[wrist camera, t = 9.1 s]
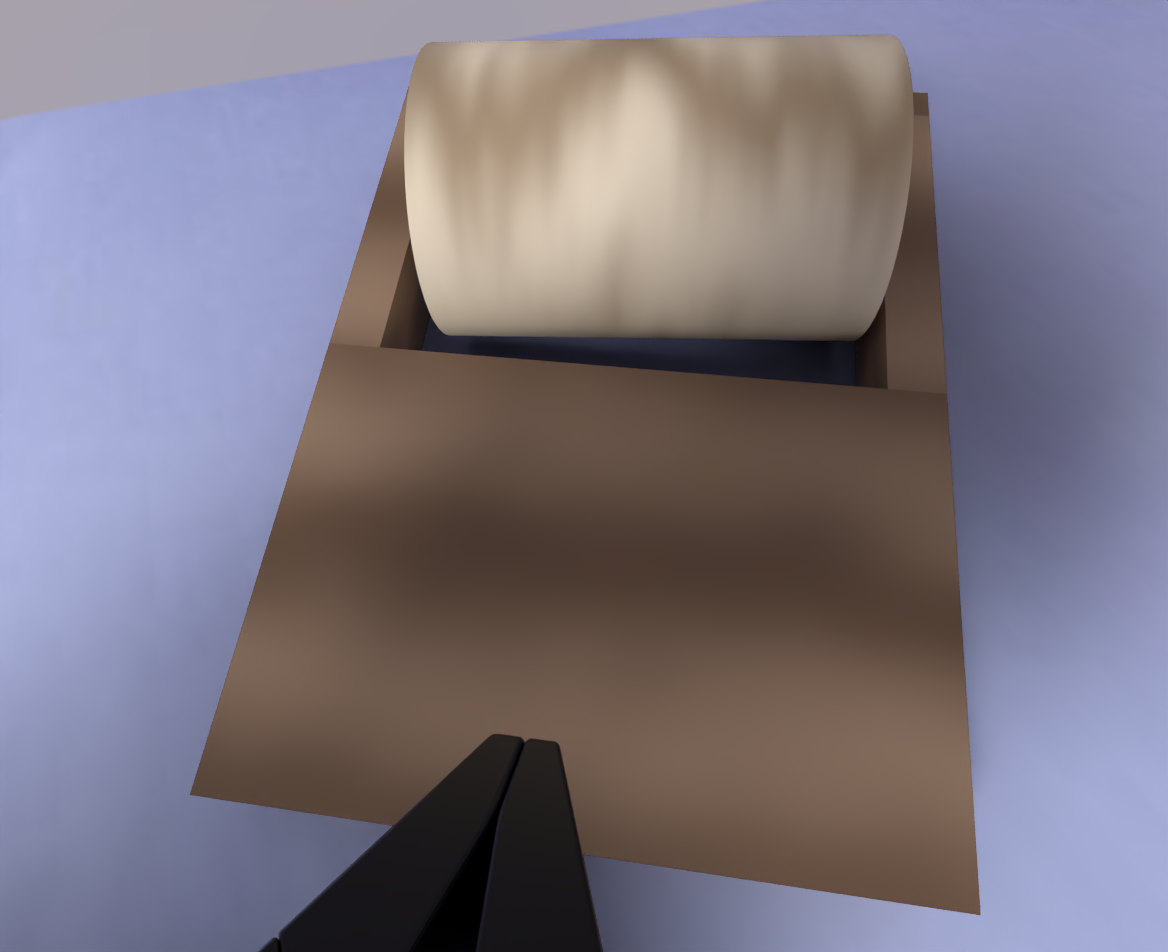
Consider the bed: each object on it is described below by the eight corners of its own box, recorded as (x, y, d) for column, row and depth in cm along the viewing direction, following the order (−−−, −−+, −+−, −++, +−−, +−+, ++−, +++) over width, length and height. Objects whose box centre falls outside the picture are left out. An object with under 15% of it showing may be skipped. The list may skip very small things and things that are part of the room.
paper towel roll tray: (926, 896, 18) (980, 915, 15) (252, 794, 19) (189, 794, 17) (896, 166, 26) (927, 93, 24) (434, 142, 28) (413, 71, 26)
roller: (893, -39, 19) (820, 191, 26) (431, -28, 20) (486, 192, 27) (931, 208, 16) (837, 390, 23) (384, 208, 17) (459, 383, 24)
